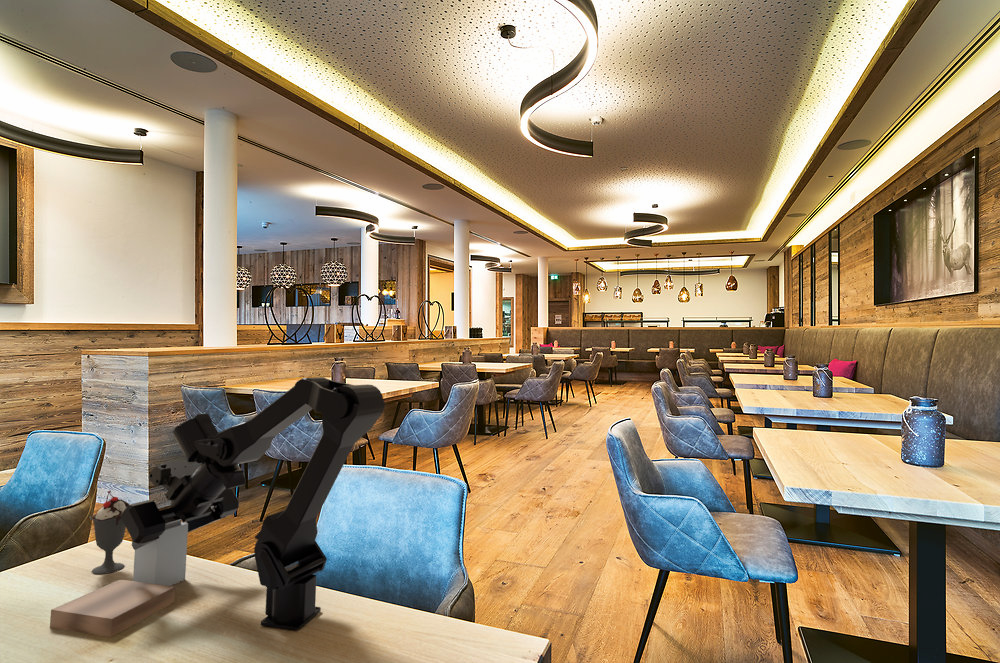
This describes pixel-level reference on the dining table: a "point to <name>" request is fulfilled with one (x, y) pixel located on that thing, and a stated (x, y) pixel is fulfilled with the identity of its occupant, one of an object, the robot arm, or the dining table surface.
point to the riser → (112, 608)
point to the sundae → (109, 532)
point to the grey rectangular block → (163, 557)
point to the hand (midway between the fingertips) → (160, 538)
